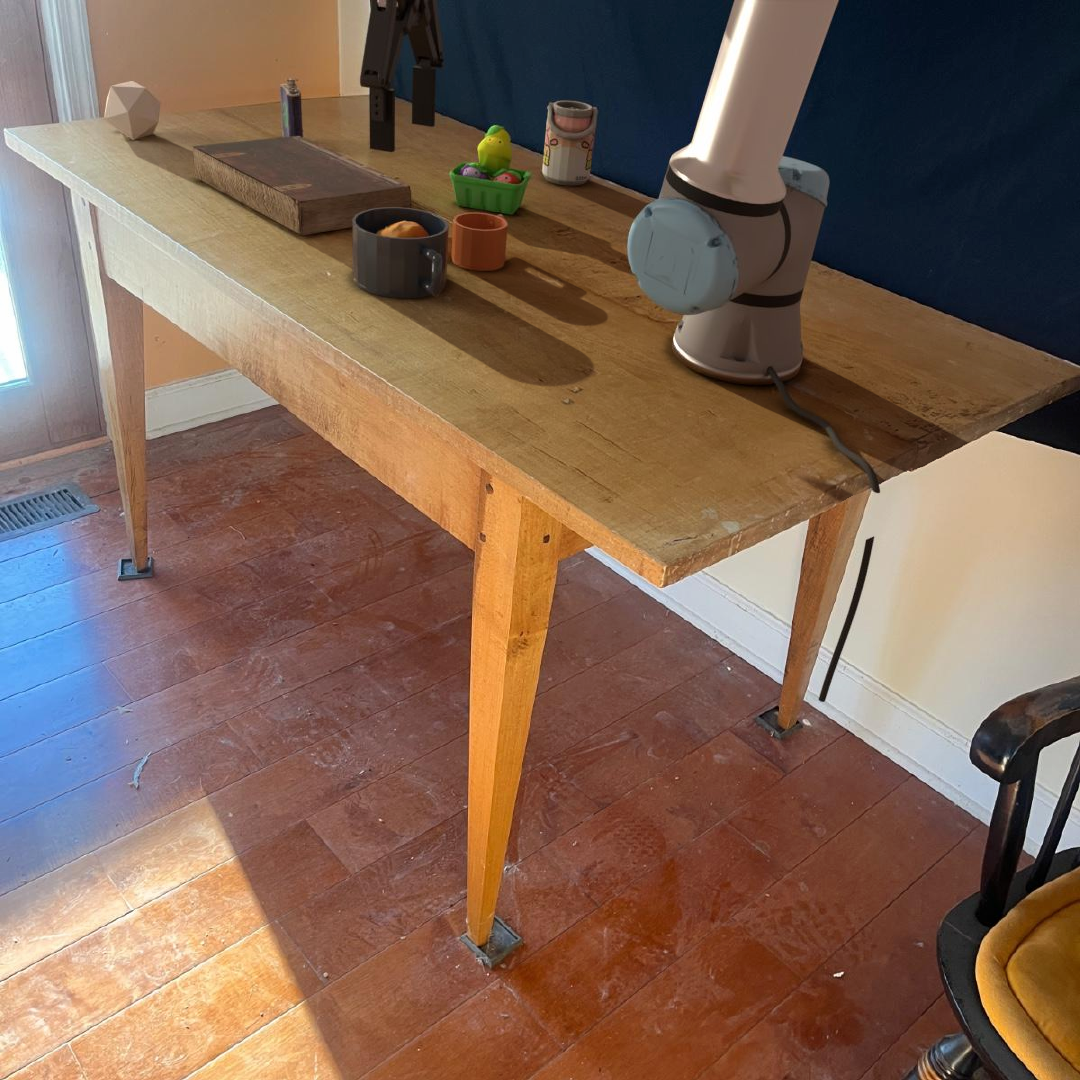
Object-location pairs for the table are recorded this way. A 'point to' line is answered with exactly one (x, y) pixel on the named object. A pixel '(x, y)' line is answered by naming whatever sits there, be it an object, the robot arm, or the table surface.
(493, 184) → the fruit basket
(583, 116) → the white patterned canister
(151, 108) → the die
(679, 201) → the robot arm
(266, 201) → the hardback book
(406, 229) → the fruit
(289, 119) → the flask
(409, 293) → the big cup
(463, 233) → the small cup
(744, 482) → the table surface
